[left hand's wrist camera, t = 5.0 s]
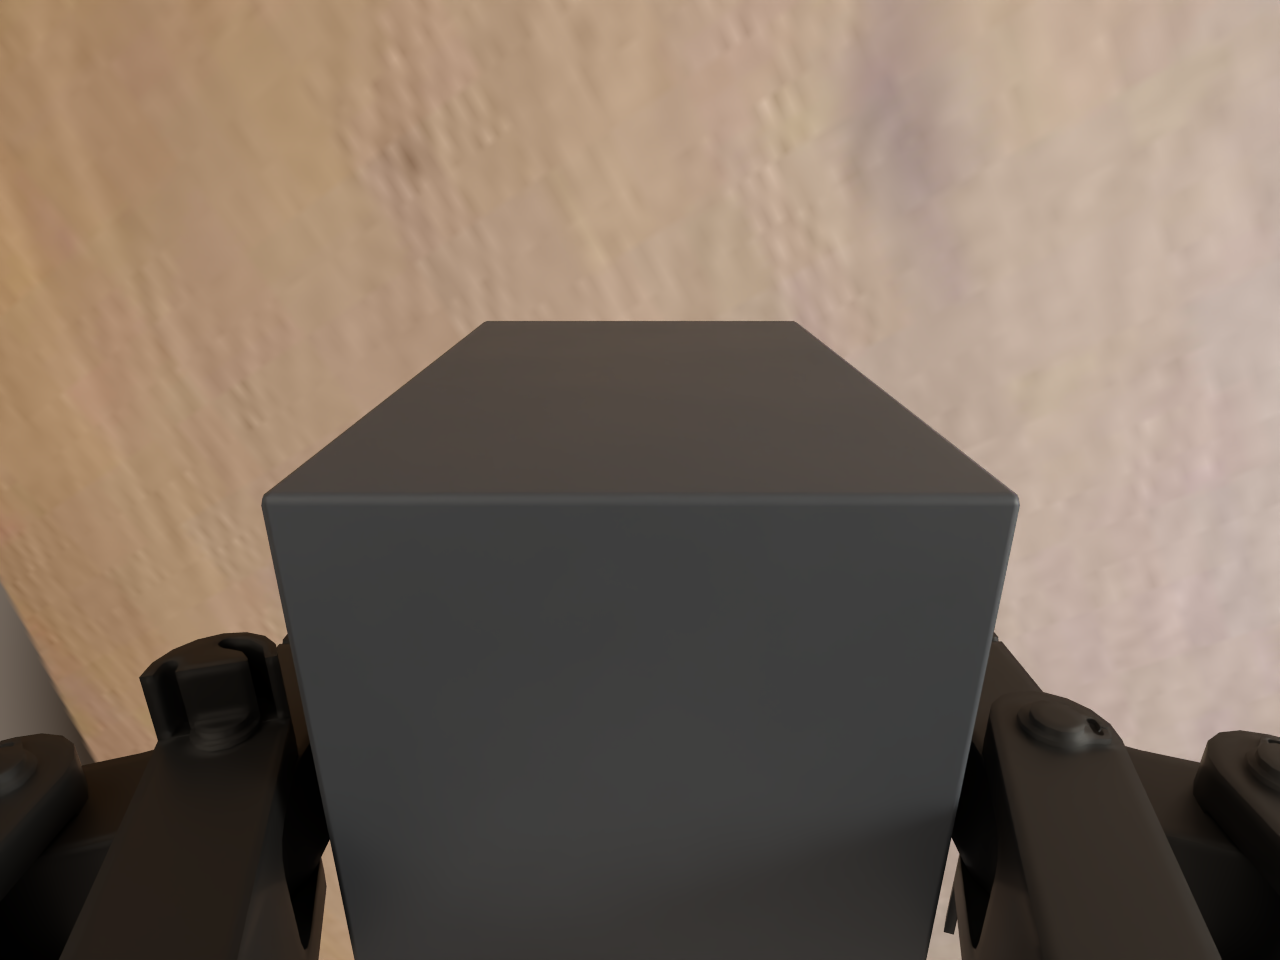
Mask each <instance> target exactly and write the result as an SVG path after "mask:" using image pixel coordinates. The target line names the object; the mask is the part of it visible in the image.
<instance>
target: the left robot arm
mask: <svg viewBox="0 0 1280 960" xmlns="http://www.w3.org/2000/svg"><path fill="white" fill-rule="evenodd" d="M139 679H140V682H141V685H142V689H143V692H144V695H145V699H146V702H147V705H148V709H149V712H150V715H151V719H152V722H153V725H154V729H155V732H156V735H157V739H158V742H157V744H156V747H155V749H154V750H151V751H147V752H144V753H140V754H135V755H130V756H125V757H121V758H116V759H111V760H106V761H102V762H97V763H92V764H87V765H83V766H81V763H80V760H79V757H78V754H77V752H76V749H75V746H74V744H73V743H72V742H70V741H69V740H68V739H66V738H65V737H63V736H60V735H51V734H35V735H28V736H22V737H15V738H11V739H7V740H3V741H0V960H318V958H319V949H320V940H321V931H322V922H323V913H324V904H325V895H326V880H325V873H324V868H323V863H322V859H321V856H322V854H323V852H324V850H325V848H326V846H327V844H328V842H329V840H330V837H329V832H328V828H327V823H326V818H325V813H324V808H323V803H322V798H321V793H320V789H319V784H318V779H317V774H316V769H315V764H314V759H313V754H312V750H311V745H310V740H309V735H308V730H307V725H306V720H305V715H304V711H303V706H302V701H301V696H300V691H299V686H298V681H297V676H296V672H295V667H294V662H293V657H292V652H291V647H290V642H289V637H288V634H287V635H286V637H285V638H284V639H283V644H279V645H278V646H277V648H276V644H275V643H274V642H272V641H271V640H270V639H268V638H267V637H266V636H263V635H258V634H253V633H248V632H243V633H224V634H219V635H215V636H211V637H206V638H202V639H198V640H195V641H193V642H190V643H188V644H185V645H183V646H181V647H178V648H176V649H173V650H171V651H170V652H168V653H167V654H165V655H164V656H162V657H161V658H159V659H157V660H156V661H154V662H153V663H152V664H151V665H150V666H149V667H148V668H147V669H146V670H145V672H144V673H143V674H142V675H141V676H140V677H139ZM952 839H953V841H954V843H955V845H956V847H957V849H958V852H959V859H958V863H957V868H956V873H955V877H954V882H953V887H952V891H951V896H950V901H949V906H948V910H947V915H946V921H945V927H944V932H946V933H950V934H954V931H955V927H956V922H957V920H958V929H959V938H960V947H961V956H962V960H1280V737H1276V736H1272V735H1268V734H1261V733H1255V732H1248V731H1241V730H1239V731H1230V732H1220V733H1218V734H1217V735H1215V736H1214V737H1213V738H1211V739H1210V740H1208V742H1207V745H1206V748H1205V751H1204V753H1203V756H1202V759H1201V762H1200V763H1199V762H1194V761H1189V760H1184V759H1180V758H1175V757H1170V756H1165V755H1161V754H1156V753H1151V752H1146V751H1141V750H1137V749H1134V748H1130V747H1126V746H1125V745H1124V743H1123V741H1122V739H1121V738H1120V736H1119V735H1118V734H1117V732H1116V731H1115V730H1114V728H1113V727H1112V726H1111V724H1109V723H1108V722H1107V721H1105V720H1104V719H1103V718H1101V717H1100V716H1099V715H1097V714H1096V713H1095V712H1093V711H1092V710H1091V709H1088V708H1086V707H1084V706H1082V705H1080V704H1078V703H1076V702H1074V701H1071V700H1069V699H1067V698H1063V697H1060V696H1056V695H1052V694H1048V693H1045V692H1043V691H1042V690H1041V689H1040V688H1039V687H1038V685H1037V684H1036V683H1035V682H1034V680H1033V679H1032V678H1031V677H1030V676H1029V674H1028V673H1027V672H1026V671H1025V669H1024V668H1023V667H1022V666H1021V665H1020V663H1019V662H1018V661H1017V660H1016V658H1015V657H1014V656H1013V655H1012V654H1011V652H1010V651H1009V650H1008V649H1007V647H1006V646H1005V645H1004V644H1003V643H1002V642H999V641H998V636H997V635H996V634H995V633H993V638H992V642H991V647H990V652H989V657H988V662H987V667H986V672H985V676H984V681H983V686H982V691H981V696H980V701H979V706H978V710H977V715H976V720H975V725H974V730H973V735H972V740H971V744H970V749H969V754H968V759H967V764H966V769H965V774H964V778H963V783H962V788H961V793H960V798H959V803H958V807H957V812H956V817H955V822H954V827H953V832H952Z"/></svg>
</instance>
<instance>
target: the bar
mask: <svg viewBox="0 0 1280 960" xmlns="http://www.w3.org/2000/svg"><path fill="white" fill-rule="evenodd" d="M261 506H262V511H263V516H264V520H265V525H266V530H267V535H268V540H269V545H270V550H271V555H272V559H273V564H274V569H275V574H276V579H277V584H278V589H279V594H280V598H281V603H282V608H283V613H284V618H285V623H286V628H287V633H288V637H289V642H290V647H291V652H292V657H293V662H294V667H295V672H296V676H297V681H298V686H299V691H300V696H301V701H302V706H303V711H304V715H305V720H306V725H307V730H308V735H309V740H310V745H311V750H312V754H313V759H314V764H315V769H316V774H317V779H318V784H319V789H320V793H321V798H322V803H323V808H324V813H325V818H326V823H327V828H328V832H329V837H330V842H331V847H332V852H333V857H334V862H335V867H336V871H337V876H338V881H339V886H340V891H341V896H342V901H343V906H344V910H345V915H346V920H347V925H348V930H349V935H350V940H351V945H352V949H353V954H354V959H355V960H926V958H927V953H928V948H929V943H930V938H931V934H932V929H933V924H934V919H935V914H936V909H937V905H938V900H939V895H940V890H941V885H942V880H943V875H944V871H945V866H946V861H947V856H948V851H949V846H950V841H951V837H952V832H953V827H954V822H955V817H956V812H957V807H958V803H959V798H960V793H961V788H962V783H963V778H964V774H965V769H966V764H967V759H968V754H969V749H970V744H971V740H972V735H973V730H974V725H975V720H976V715H977V710H978V706H979V701H980V696H981V691H982V686H983V681H984V676H985V672H986V667H987V662H988V657H989V652H990V647H991V642H992V638H993V633H994V628H995V623H996V618H997V613H998V609H999V604H1000V599H1001V594H1002V589H1003V584H1004V579H1005V575H1006V570H1007V565H1008V560H1009V555H1010V550H1011V545H1012V541H1013V536H1014V531H1015V526H1016V521H1017V516H1018V511H1019V507H1020V504H1019V498H1018V495H1017V494H1016V493H1014V492H1013V491H1012V490H1010V489H1009V488H1008V487H1007V486H1005V485H1004V484H1003V483H1001V482H1000V481H999V480H998V479H996V478H995V477H994V476H993V475H991V474H990V473H989V472H987V471H986V470H985V469H984V468H982V467H981V466H980V465H978V464H977V463H976V462H975V461H973V460H972V459H971V458H969V457H968V456H967V455H966V454H964V453H963V452H962V451H961V450H959V449H958V448H957V447H955V446H954V445H953V444H952V443H950V442H949V441H948V440H946V439H945V438H944V437H943V436H941V435H940V434H939V433H937V432H936V431H935V430H934V429H932V428H931V427H930V426H929V425H927V424H926V423H925V422H923V421H922V420H921V419H920V418H918V417H917V416H916V415H914V414H913V413H912V412H911V411H909V410H908V409H907V408H905V407H904V406H903V405H902V404H900V403H899V402H898V401H897V400H895V399H894V398H893V397H891V396H890V395H889V394H888V393H886V392H885V391H884V390H882V389H881V388H880V387H879V386H877V385H876V384H875V383H873V382H872V381H871V380H870V379H868V378H867V377H866V376H864V375H863V374H862V373H861V372H859V371H858V370H857V369H856V368H854V367H853V366H852V365H850V364H849V363H848V362H847V361H845V360H844V359H843V358H841V357H840V356H839V355H838V354H836V353H835V352H834V351H832V350H831V349H830V348H829V347H827V346H826V345H825V344H824V343H822V342H821V341H820V340H818V339H817V338H816V337H815V336H813V335H812V334H811V333H809V332H808V331H807V330H806V329H804V328H803V327H802V326H800V325H799V324H798V323H797V322H794V321H486V322H484V323H483V324H481V325H480V326H479V327H477V328H476V329H475V330H474V331H472V332H471V333H470V334H469V335H467V336H466V337H465V338H463V339H462V340H461V341H460V342H458V343H457V344H456V345H454V346H453V347H452V348H451V349H449V350H448V351H447V352H446V353H444V354H443V355H442V356H440V357H439V358H438V359H437V360H435V361H434V362H433V363H431V364H430V365H429V366H428V367H426V368H425V369H424V370H423V371H421V372H420V373H419V374H417V375H416V376H415V377H414V378H412V379H411V380H410V381H408V382H407V383H406V384H405V385H403V386H402V387H401V388H400V389H398V390H397V391H396V392H394V393H393V394H392V395H391V396H389V397H388V398H387V399H385V400H384V401H383V402H382V403H380V404H379V405H378V406H377V407H375V408H374V409H373V410H371V411H370V412H369V413H368V414H366V415H365V416H364V417H362V418H361V419H360V420H359V421H357V422H356V423H355V424H354V425H352V426H351V427H350V428H348V429H347V430H346V431H345V432H343V433H342V434H341V435H339V436H338V437H337V438H336V439H334V440H333V441H332V442H331V443H329V444H328V445H327V446H325V447H324V448H323V449H322V450H320V451H319V452H318V453H316V454H315V455H314V456H313V457H311V458H310V459H309V460H308V461H306V462H305V463H304V464H302V465H301V466H300V467H299V468H297V469H296V470H295V471H293V472H292V473H291V474H290V475H288V476H287V477H286V478H285V479H283V480H282V481H281V482H279V483H278V484H277V485H276V486H274V487H273V488H272V489H270V490H269V491H268V492H267V493H265V494H264V496H263V498H262V505H261Z"/></svg>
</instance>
